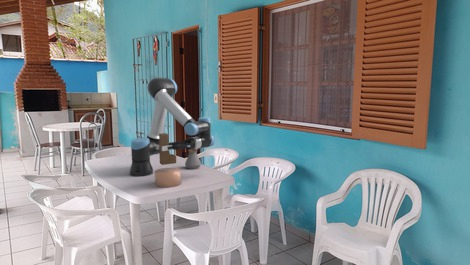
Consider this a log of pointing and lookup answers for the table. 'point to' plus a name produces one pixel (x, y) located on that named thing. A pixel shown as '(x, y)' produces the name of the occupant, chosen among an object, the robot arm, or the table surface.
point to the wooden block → (165, 155)
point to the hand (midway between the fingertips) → (159, 148)
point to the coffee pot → (192, 160)
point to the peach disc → (168, 177)
